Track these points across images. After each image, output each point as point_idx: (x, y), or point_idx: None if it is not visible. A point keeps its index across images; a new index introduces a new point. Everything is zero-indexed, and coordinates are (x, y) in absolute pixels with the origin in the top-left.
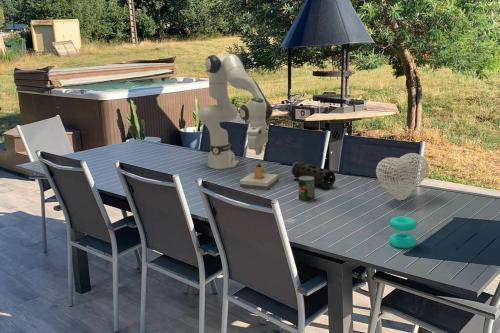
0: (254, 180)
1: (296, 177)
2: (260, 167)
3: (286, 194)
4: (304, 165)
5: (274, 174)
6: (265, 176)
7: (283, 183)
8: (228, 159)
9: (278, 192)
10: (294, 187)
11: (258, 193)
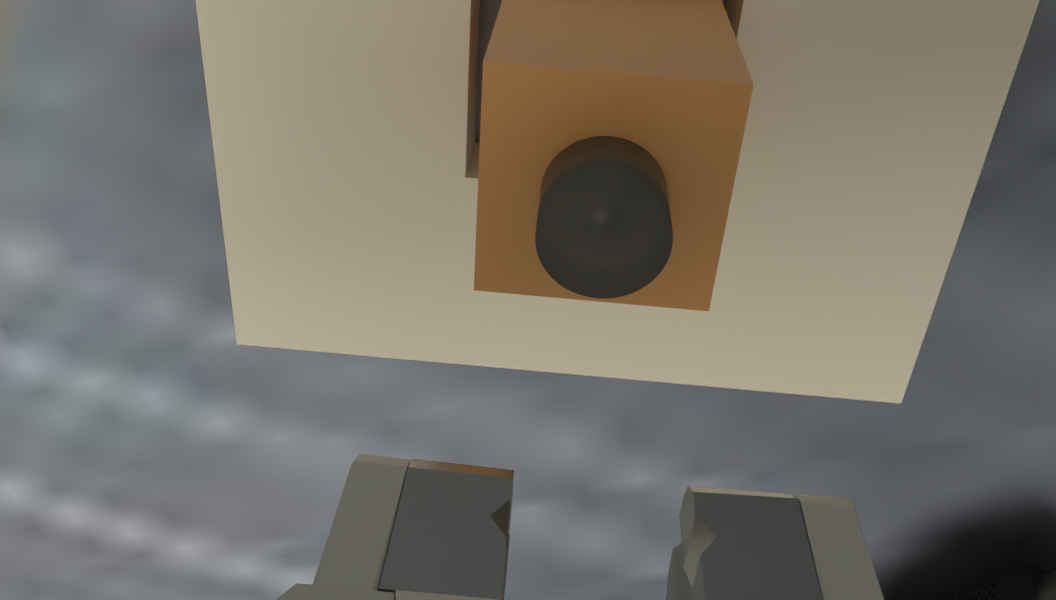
0: (301, 28)
1: (968, 590)
2: (529, 256)
3: (177, 539)
4: None
5: (923, 329)
6: None
7: (750, 410)
8: None
9: (221, 436)
10: (546, 575)
11: (22, 165)
